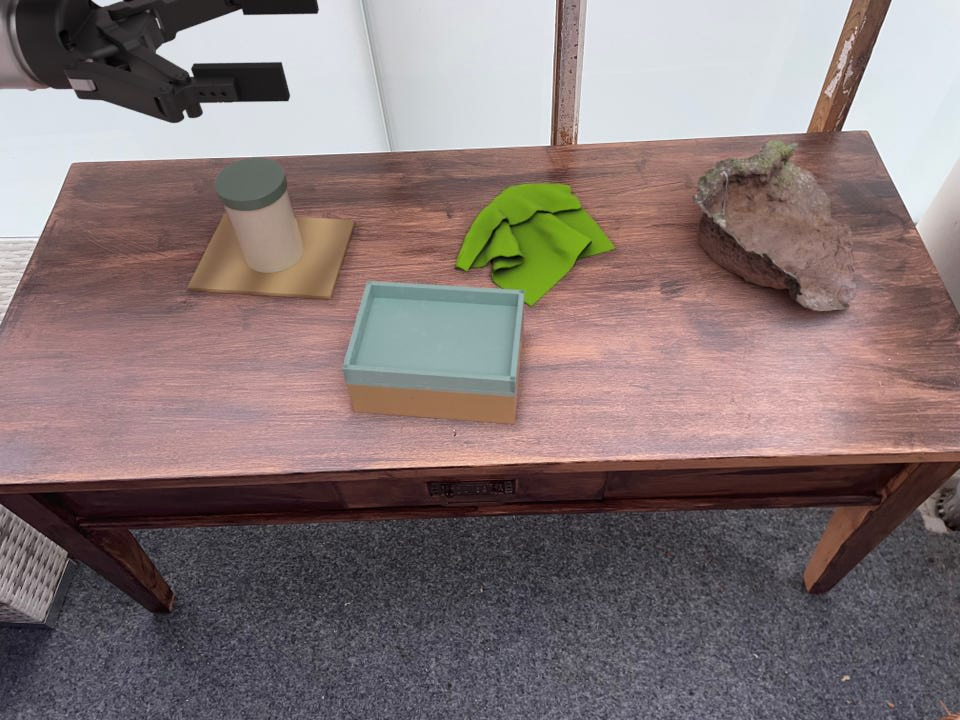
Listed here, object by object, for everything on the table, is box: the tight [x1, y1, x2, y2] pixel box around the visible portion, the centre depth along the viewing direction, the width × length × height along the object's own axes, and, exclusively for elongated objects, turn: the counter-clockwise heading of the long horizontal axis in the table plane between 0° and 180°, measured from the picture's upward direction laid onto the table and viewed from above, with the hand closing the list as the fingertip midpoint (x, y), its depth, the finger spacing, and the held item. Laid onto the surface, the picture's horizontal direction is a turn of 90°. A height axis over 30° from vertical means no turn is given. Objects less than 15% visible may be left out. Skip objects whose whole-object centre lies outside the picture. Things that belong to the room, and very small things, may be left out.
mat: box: [187, 212, 356, 300], centre depth 92 cm, size 18×14×1 cm
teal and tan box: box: [341, 280, 525, 425], centre depth 77 cm, size 17×12×8 cm
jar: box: [213, 157, 304, 273], centre depth 88 cm, size 8×8×12 cm
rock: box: [692, 139, 858, 312], centre depth 87 cm, size 26×22×10 cm
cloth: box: [454, 182, 617, 307], centre depth 92 cm, size 20×22×2 cm
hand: (301, 35), depth 58 cm, fingers open, 13 cm apart
